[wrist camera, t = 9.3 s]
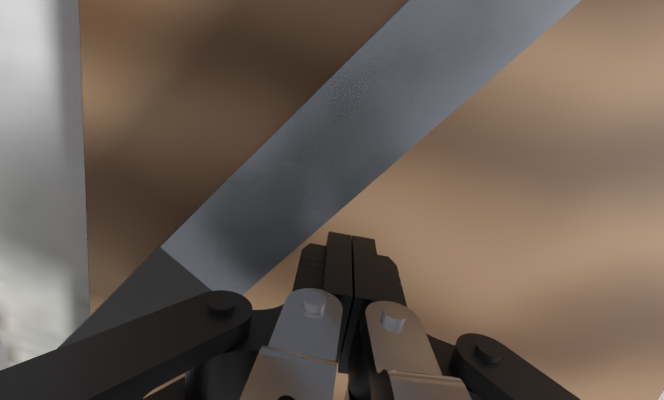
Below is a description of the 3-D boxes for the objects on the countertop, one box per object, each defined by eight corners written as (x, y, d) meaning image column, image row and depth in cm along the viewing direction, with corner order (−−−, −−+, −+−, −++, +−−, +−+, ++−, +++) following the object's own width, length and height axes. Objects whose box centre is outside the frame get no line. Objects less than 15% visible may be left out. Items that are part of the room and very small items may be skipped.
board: (94, -716, 9) (47, -866, 7) (1091, -463, 10) (1220, -554, 8) (111, 393, 19) (94, 419, 18) (583, 465, 20) (601, 495, 19)
